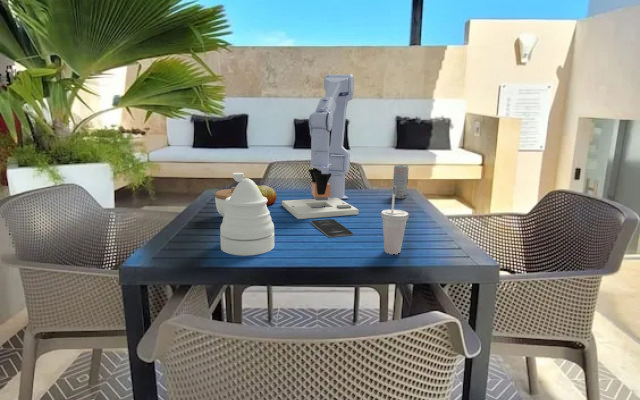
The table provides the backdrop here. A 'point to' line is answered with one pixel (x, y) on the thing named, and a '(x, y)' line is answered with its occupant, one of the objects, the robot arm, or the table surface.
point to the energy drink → (400, 181)
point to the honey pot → (246, 220)
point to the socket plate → (332, 208)
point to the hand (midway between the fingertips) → (319, 192)
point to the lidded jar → (222, 199)
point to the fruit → (268, 194)
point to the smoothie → (393, 228)
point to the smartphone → (331, 228)
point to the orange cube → (320, 197)
